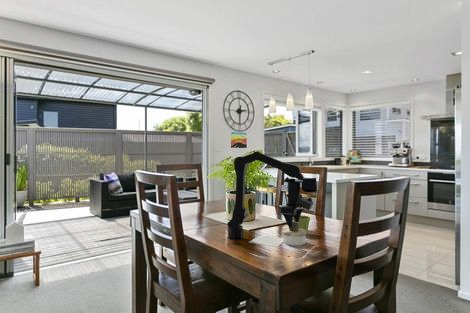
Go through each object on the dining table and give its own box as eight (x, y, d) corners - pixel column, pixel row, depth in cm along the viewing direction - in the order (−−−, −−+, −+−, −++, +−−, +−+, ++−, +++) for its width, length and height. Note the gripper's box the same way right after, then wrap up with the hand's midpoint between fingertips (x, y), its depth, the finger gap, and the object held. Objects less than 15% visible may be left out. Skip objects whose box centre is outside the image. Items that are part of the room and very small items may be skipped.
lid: (278, 234, 137) (278, 223, 137) (286, 229, 147) (286, 218, 147) (302, 237, 132) (302, 225, 132) (309, 232, 141) (309, 221, 141)
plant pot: (313, 236, 151) (313, 218, 151) (295, 237, 150) (295, 219, 150) (306, 231, 161) (306, 215, 161) (289, 232, 159) (289, 215, 159)
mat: (248, 243, 139) (248, 242, 139) (261, 236, 151) (261, 235, 151) (276, 248, 132) (276, 246, 132) (287, 240, 144) (287, 238, 144)
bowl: (279, 244, 138) (279, 234, 138) (287, 238, 146) (287, 229, 146) (301, 247, 133) (301, 237, 133) (307, 241, 141) (307, 232, 141)
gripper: (305, 195, 127) (304, 232, 127) (316, 191, 143) (316, 224, 144) (280, 194, 133) (280, 229, 133) (294, 189, 149) (294, 221, 149)
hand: (293, 226), depth 139 cm, fingers open, 9 cm apart
